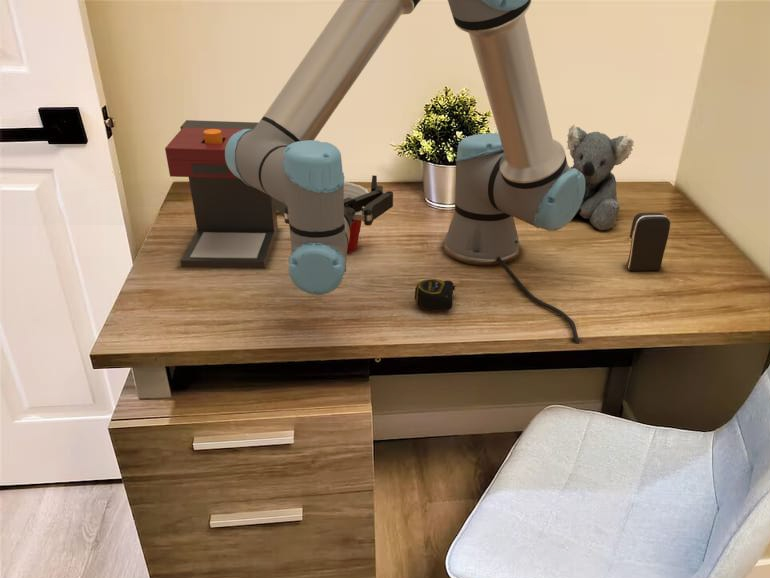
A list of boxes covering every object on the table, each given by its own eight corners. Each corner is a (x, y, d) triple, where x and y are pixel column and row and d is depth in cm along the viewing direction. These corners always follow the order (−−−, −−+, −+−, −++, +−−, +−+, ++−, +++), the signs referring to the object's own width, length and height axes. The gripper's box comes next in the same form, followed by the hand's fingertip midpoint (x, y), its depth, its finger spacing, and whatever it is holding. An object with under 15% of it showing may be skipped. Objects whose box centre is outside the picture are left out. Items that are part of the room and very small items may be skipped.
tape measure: (451, 316, 127) (452, 297, 125) (412, 313, 127) (412, 294, 125) (454, 297, 132) (455, 278, 130) (417, 294, 132) (417, 275, 130)
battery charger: (654, 262, 150) (665, 209, 143) (661, 271, 146) (673, 217, 140) (622, 263, 148) (631, 210, 142) (628, 272, 145) (638, 217, 139)
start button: (221, 148, 129) (219, 134, 128) (203, 147, 129) (201, 133, 127) (224, 143, 131) (222, 129, 130) (207, 142, 131) (205, 128, 130)
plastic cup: (360, 262, 142) (358, 203, 135) (307, 254, 143) (303, 196, 137) (378, 240, 151) (377, 184, 144) (328, 233, 152) (324, 177, 146)
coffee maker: (264, 268, 137) (251, 152, 125) (181, 267, 136) (160, 149, 124) (278, 229, 152) (267, 122, 140) (203, 228, 151) (186, 120, 139)
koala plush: (537, 218, 165) (546, 131, 155) (561, 194, 180) (571, 112, 169) (612, 234, 160) (627, 145, 150) (630, 208, 174) (645, 125, 164)
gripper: (243, 250, 113) (265, 200, 130) (407, 253, 115) (406, 203, 133) (238, 203, 108) (261, 158, 126) (407, 208, 111) (406, 163, 129)
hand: (335, 181), depth 130 cm, fingers open, 13 cm apart
